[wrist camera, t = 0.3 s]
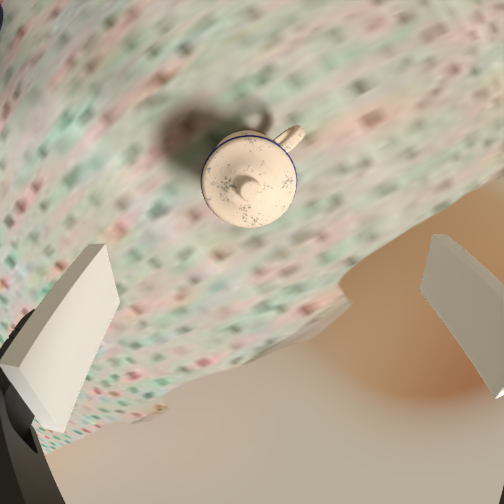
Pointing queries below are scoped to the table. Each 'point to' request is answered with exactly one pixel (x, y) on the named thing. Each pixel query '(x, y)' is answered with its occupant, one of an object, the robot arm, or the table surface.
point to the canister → (1, 16)
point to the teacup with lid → (251, 177)
